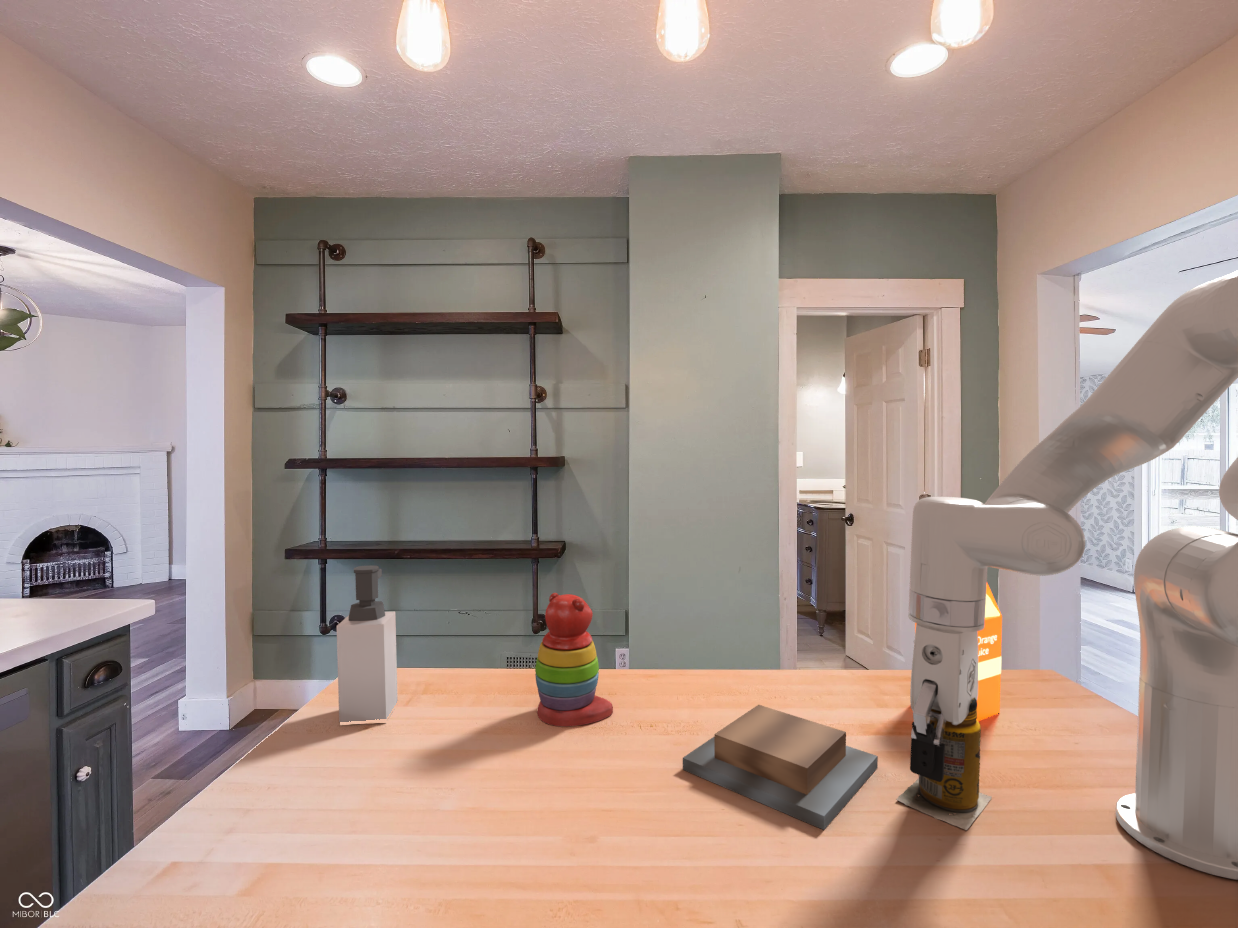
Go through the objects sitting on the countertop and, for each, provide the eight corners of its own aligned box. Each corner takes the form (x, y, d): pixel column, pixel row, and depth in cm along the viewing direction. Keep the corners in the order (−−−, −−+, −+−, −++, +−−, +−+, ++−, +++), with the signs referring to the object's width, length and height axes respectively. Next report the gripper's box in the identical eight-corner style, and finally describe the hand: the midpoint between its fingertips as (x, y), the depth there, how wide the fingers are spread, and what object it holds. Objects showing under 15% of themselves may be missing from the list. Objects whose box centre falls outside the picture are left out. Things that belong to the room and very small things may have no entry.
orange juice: (967, 725, 88) (970, 585, 87) (912, 701, 96) (914, 572, 95) (1001, 713, 92) (1004, 578, 91) (945, 691, 99) (947, 567, 99)
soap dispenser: (401, 697, 98) (398, 559, 97) (386, 723, 90) (382, 571, 89) (358, 699, 98) (355, 560, 97) (339, 725, 89) (335, 573, 88)
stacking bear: (619, 712, 93) (618, 594, 92) (567, 736, 85) (566, 608, 85) (571, 691, 100) (570, 582, 99) (520, 712, 93) (518, 594, 92)
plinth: (877, 767, 77) (878, 731, 77) (823, 829, 65) (824, 787, 65) (748, 723, 89) (748, 692, 89) (682, 769, 77) (682, 733, 77)
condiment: (991, 798, 71) (994, 694, 70) (966, 831, 65) (969, 718, 64) (924, 773, 76) (926, 676, 75) (895, 802, 70) (897, 697, 69)
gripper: (964, 634, 60) (956, 806, 61) (1000, 600, 73) (993, 741, 74) (884, 618, 65) (878, 777, 66) (931, 588, 78) (925, 721, 79)
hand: (939, 758), depth 70 cm, fingers open, 9 cm apart
